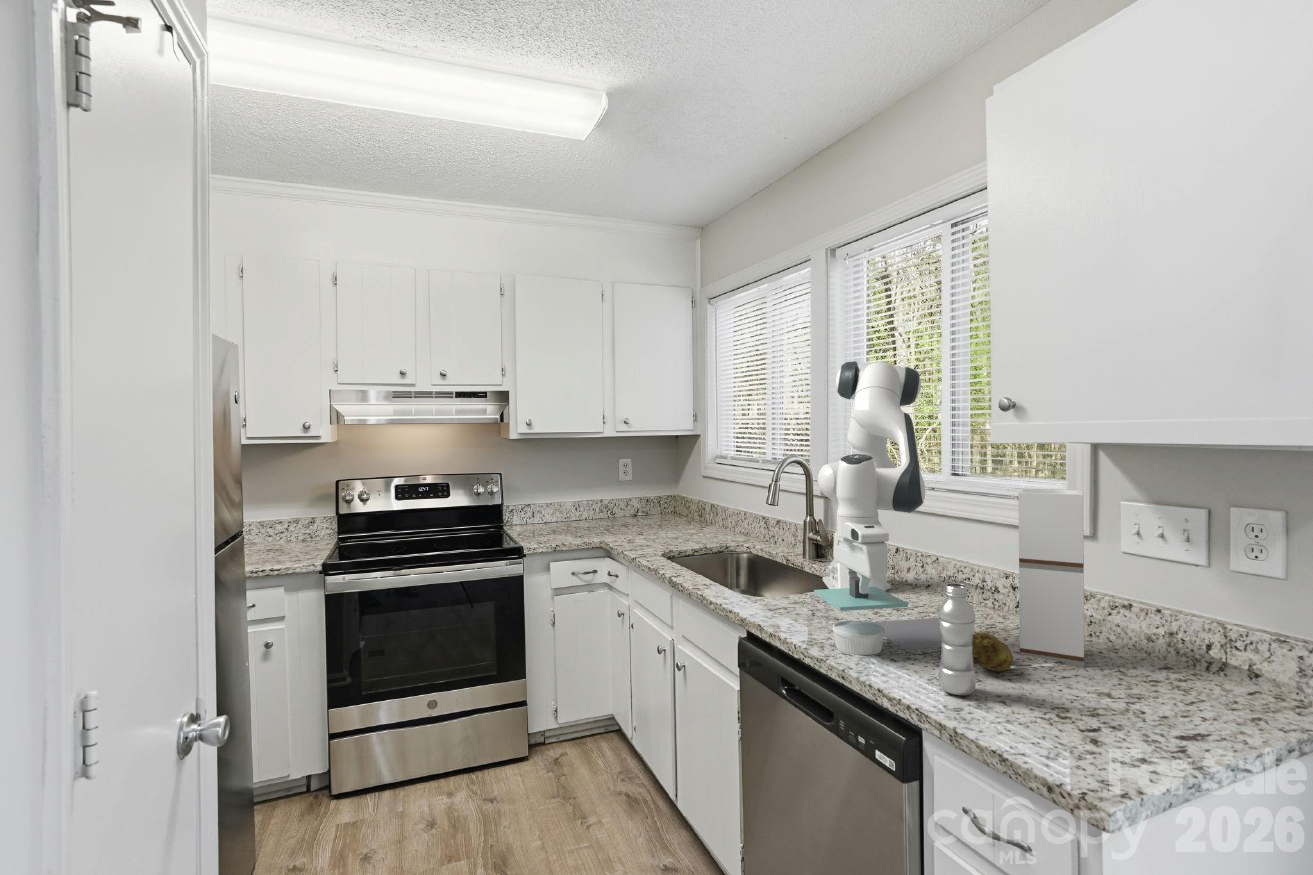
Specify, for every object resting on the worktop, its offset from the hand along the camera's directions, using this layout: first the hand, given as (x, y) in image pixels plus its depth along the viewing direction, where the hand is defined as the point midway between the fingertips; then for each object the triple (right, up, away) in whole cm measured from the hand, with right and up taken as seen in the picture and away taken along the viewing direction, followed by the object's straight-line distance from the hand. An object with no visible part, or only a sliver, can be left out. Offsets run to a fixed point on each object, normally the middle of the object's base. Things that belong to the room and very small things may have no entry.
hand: (858, 590), depth 146 cm
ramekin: (0, -14, 0) cm, 14 cm away
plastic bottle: (+11, -14, -24) cm, 29 cm away
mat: (+18, -13, +10) cm, 24 cm away
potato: (+23, -13, -13) cm, 29 cm away
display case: (+40, -13, -5) cm, 42 cm away
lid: (0, -2, 0) cm, 2 cm away
